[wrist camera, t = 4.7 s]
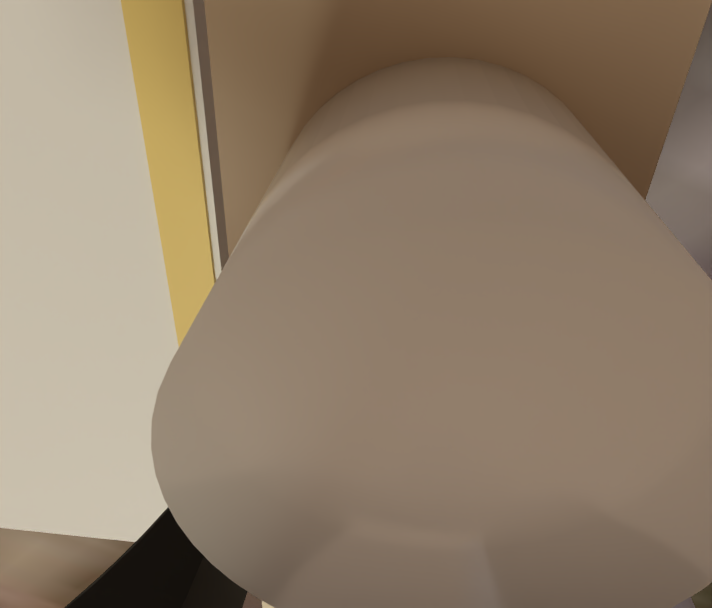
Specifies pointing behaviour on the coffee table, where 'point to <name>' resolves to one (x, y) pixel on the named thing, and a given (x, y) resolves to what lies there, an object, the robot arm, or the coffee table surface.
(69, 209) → the dock
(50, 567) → the coffee table surface
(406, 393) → the taupe tapered cylinder
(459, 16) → the beige long bar
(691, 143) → the coffee table surface
